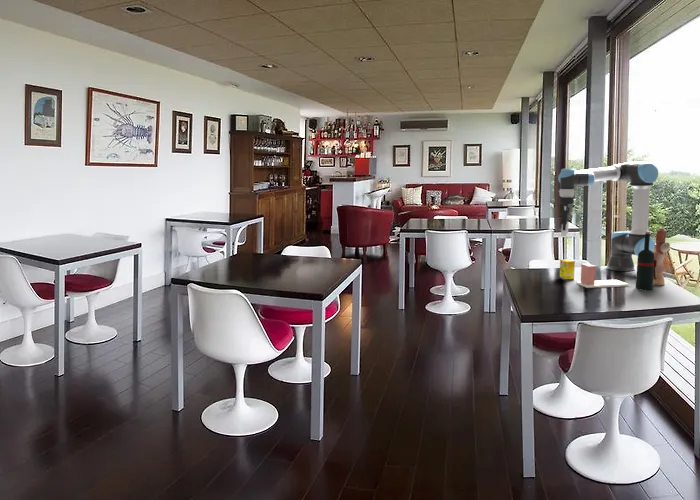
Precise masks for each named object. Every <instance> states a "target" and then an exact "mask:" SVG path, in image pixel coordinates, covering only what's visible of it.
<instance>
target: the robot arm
mask: <svg viewBox="0 0 700 500" xmlns="http://www.w3.org/2000/svg"><path fill="white" fill-rule="evenodd" d="M557 176H558V177H557V178H558V182H559V190H558V193H559V198H558V203H559V204H561V205H562V207H561V222H560V223H559V224H560V225H561V232H560V237H567V235H568V234H569V224H570V222H571V220H570V210H571V207H570V205H573V204H574V196H575V187H576V186H579V187H580V186H583V187H584V186H587V187H588V186H592V185H593V184H594V183H595V182H605V181H612V182H621V181H622V182H628V183H630V187H631V188H632V210H631V214H632V215H631V229H630V231H614V232H613V233H612V234H611V243H610V244H611V245H610V257H609V259H608V262H607V263H606V269H607V270H611V271H618V272H633V271H635V264H634V260H633V256H636V257H638V254H639V252H640V251H642V250H644V244H645V231H649V217H650V216H649V213H650V194H651V193H650V192H651V191H650V190H651V188H652V187H653V186H654V182H656V181H657V179H658V177H659V169H658V167H657V166H656V165H655V164H654V163H653V162H650V161H628V162H623V163H618V164H612V165H610V166H607V167H598V168H588V169H580V170H576V168H562V169H561V170H560V173H559V174H558V175H557ZM655 248H656V240H654V238H652V236H651V232H650V241H649V250H650V251H652V250H655Z"/></svg>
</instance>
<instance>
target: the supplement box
mask: <svg viewBox="0 0 700 500" xmlns="http://www.w3.org/2000/svg"><path fill="white" fill-rule="evenodd" d="M575 264H576V261H575V260H572V259H560V260H559V279H561V280H562V281H574V280H575V266H576V265H575Z"/></svg>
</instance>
